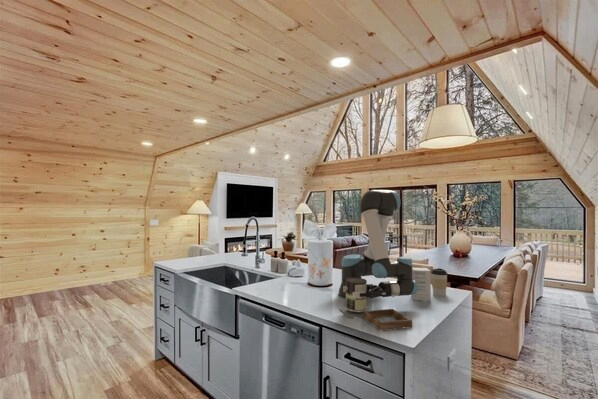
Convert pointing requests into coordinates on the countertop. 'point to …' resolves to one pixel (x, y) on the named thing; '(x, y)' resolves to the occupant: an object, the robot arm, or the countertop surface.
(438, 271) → the coffee cup
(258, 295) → the countertop surface
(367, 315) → the brown wooden square frame
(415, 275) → the supplement box
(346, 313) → the mat
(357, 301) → the coffee can
